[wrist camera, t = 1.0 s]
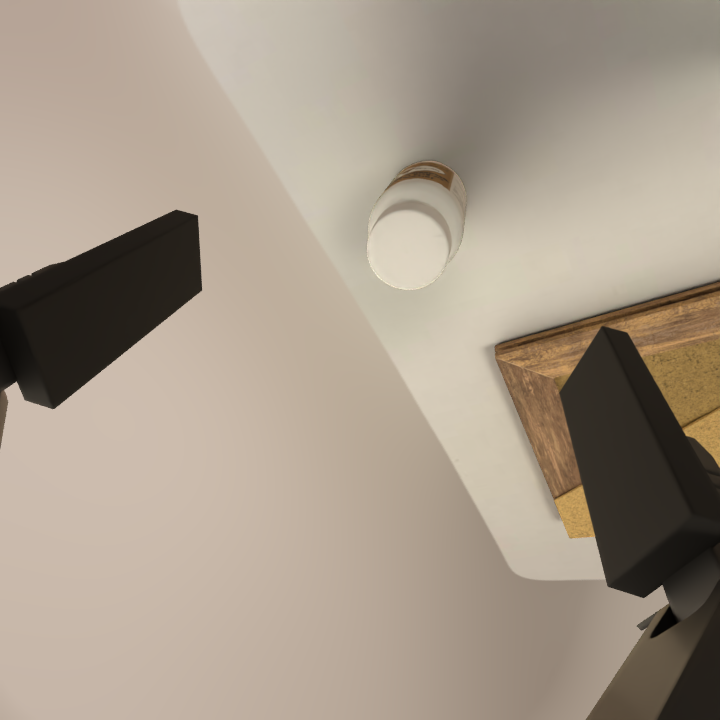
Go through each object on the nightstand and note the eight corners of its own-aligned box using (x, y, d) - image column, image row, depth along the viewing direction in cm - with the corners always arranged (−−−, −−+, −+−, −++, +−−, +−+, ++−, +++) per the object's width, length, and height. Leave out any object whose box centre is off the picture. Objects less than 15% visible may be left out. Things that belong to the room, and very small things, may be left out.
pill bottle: (448, 143, 21) (435, 175, 15) (478, 221, 23) (477, 279, 17) (373, 182, 23) (335, 226, 17) (407, 252, 25) (383, 314, 19)
